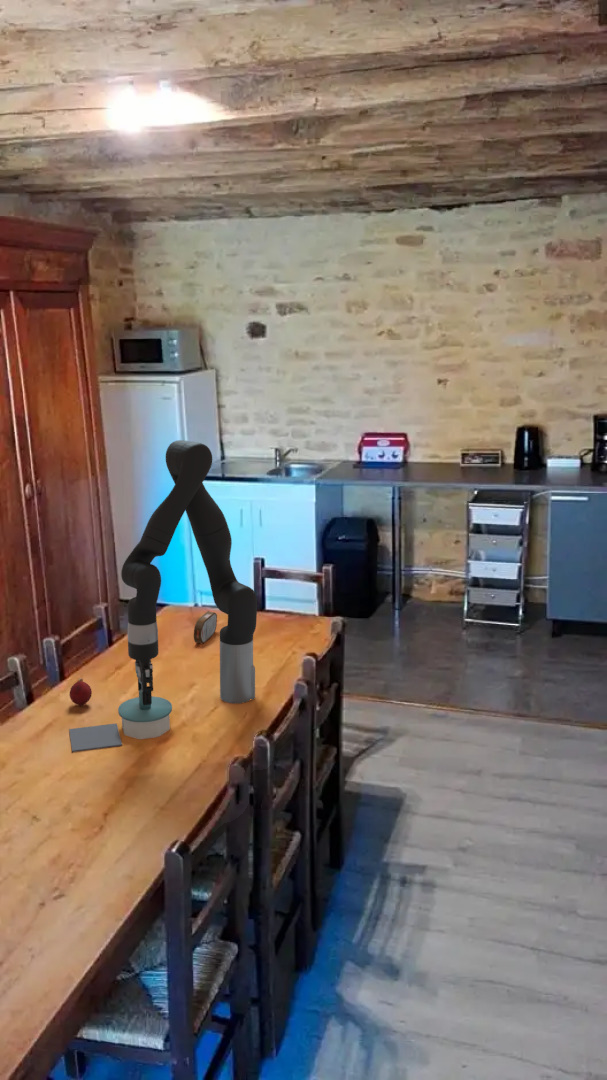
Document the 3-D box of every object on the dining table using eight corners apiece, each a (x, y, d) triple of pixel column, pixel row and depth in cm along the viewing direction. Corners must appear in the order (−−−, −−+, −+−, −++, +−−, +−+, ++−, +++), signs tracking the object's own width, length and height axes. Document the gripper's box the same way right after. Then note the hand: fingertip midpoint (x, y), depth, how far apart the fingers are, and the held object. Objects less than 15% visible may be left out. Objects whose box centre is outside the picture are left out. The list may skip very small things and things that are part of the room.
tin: (210, 630, 299) (209, 607, 297) (218, 631, 298) (218, 608, 296) (192, 646, 285) (192, 621, 283) (201, 647, 284) (201, 622, 282)
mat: (116, 724, 231) (116, 723, 230) (122, 745, 220) (122, 744, 219) (69, 730, 227) (69, 729, 227) (72, 752, 216) (72, 750, 216)
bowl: (164, 715, 236) (164, 698, 235) (171, 735, 225) (171, 717, 224) (120, 721, 233) (119, 703, 231) (125, 741, 222) (125, 722, 221)
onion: (86, 711, 238) (85, 684, 236) (66, 709, 239) (65, 682, 237) (95, 702, 243) (94, 675, 241) (76, 700, 244) (74, 673, 242)
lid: (167, 696, 236) (166, 677, 235) (176, 718, 223) (175, 698, 222) (115, 702, 232) (114, 683, 231) (121, 725, 219) (120, 705, 218)
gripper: (162, 646, 217) (163, 707, 221) (153, 627, 230) (155, 685, 235) (131, 649, 215) (133, 711, 219) (124, 629, 228) (126, 688, 232)
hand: (144, 697), depth 227 cm, fingers open, 8 cm apart
